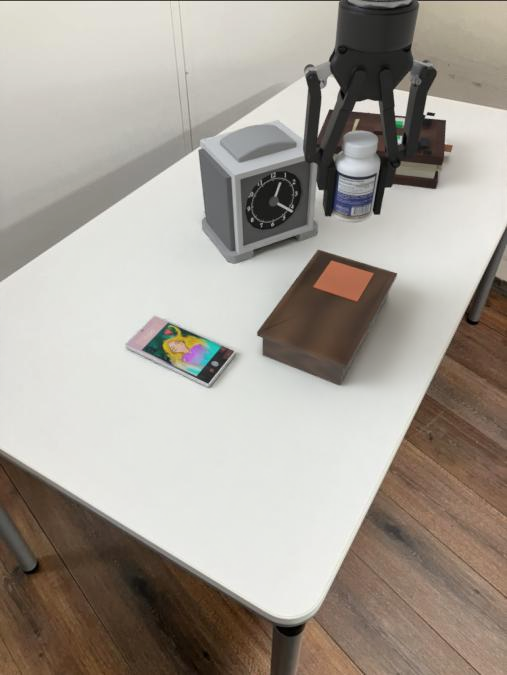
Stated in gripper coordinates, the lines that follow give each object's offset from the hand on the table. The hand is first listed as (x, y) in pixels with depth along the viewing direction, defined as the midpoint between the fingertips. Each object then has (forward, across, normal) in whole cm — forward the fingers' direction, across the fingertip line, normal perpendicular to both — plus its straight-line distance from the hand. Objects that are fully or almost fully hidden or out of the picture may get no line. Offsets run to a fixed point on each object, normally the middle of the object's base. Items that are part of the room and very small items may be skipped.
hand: (350, 209), depth 65 cm
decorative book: (+19, -15, -47) cm, 53 cm away
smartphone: (+19, +24, +6) cm, 31 cm away
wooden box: (+19, +2, +2) cm, 19 cm away
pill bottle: (+1, 0, 0) cm, 1 cm away
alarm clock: (+19, +11, -24) cm, 32 cm away
